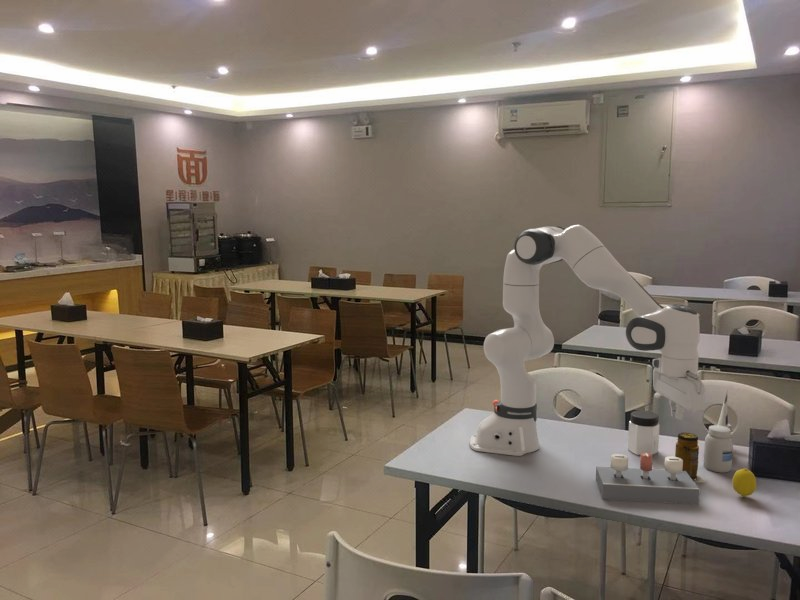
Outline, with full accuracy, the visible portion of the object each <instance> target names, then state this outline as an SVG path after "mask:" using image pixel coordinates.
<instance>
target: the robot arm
mask: <svg viewBox="0 0 800 600" xmlns="http://www.w3.org/2000/svg"><path fill="white" fill-rule="evenodd" d="M513 247H514V248H513V249H512V250H511V251H509V252H508V254H507V255H506V257H505V259H506V260H505V263H504V269H503V270H504V271H503V279H502V280H503V283H502V308H503V309H504V311H505V312H506V313H508V314H509V315H510V316H511V317H512V320H513V327H509V328H508V327H507V328H501V329H497V330H495V331H493V332H491V333H489V334H488V335H486V336H485V339H484V341H483V352H484V355H485V357H486V359H487V360H488V361H489V362H490V363H491V364H493V365H494V366H495V368H496V370H497V372H498V376H499V379H500V380H499V381H500V400H498V399H494V400H493V402H492V406H493V408H494V409H493V411H494V412H492V414H490V415H489V416H487V417H486V418H483V420H480V423H479V424H478V426H477V429H476V432H475V433H474V434H472V435H471V437H470V439H469V447H470V448H471V449H472V450H473V451H475V452H481V453H482V452H484V453H491V454H499V455H506V456H507V455H508V456H515V457H522V456H524V455H525V454H528V453H532V452H535V451H537V450H539V449H540V447H541V446H540V445H541V443H540V441H539V436H538V431H537V430H538V429H537V419H538V404H537V402H536V401H537V382H536V378H535V377H534V376H533V375H532V374H530V373H528V372H527V369H526V365H525V364H526V363H525V362H526V361H531V360H535V359H539V358H541V357H543V356H545V355H548V354H549V353H550V352H552V350H553V349H554V346H555V338H554V335H553V334H554V333H553V332H552V330H551V329H550V328H549V327H547V326H546V324H545V323H544V321H543V319H542V315H541V312H540V311H541V310H540V296H539V295H540V271H541V269H542V267H543V266H544V265H550V264H553V263H558V262H561V261H564V262H565V263H566V264H567V265H568V266H569V267H570V269H571V270H572V272H573V273H574V274H575V276H576V277H578V279H579V280H580V281H581V282H582V283H584V285H586V286H587V287H589V288H591V289H593V290H600V291H605V292H607V293H611V294H614V295H616V296H618V297H619V298H621V300H623V302H625V303H626V305H627V306H628V307H629V308H630V309H631V310H632V311H633V312H634V313H635V315H636V316H635V317H634V318H632V319H631V320H629V321H628V323H627V325H626V327H625V337H626V340H627V342H628V344H629V345H630V346H631V347H632V348H634V349H636V350H637V351H645V352H648V351H660V352H661V357H659V358H658V357H657V358H653V359H652V363H651V364H652V367H653V371H652V386H653V390H654V392H656V393H658V394H660V395H661V396H662V397H665V398H667V399H668V404H669V405H668V406H669V407H670V416H671V417H672V418H674V419H676V420H679V421H680V420H683V419H684V413H685V412H686V411H689V412H691V413H698V412H699V413H700V412H703V411H704V410H705V408H706V392H705V391H706V390H705V384H704V382H702V380H701V377H700V376H699V375H698V374H699V373H698V371H699V351H698V345H699V343H700V317H699V314H698V311H697V310H695V309H694V308H693V307H690V306H688V305H685V304H678V303H669V304H668V305H666V306H665V307H664V306H663V305H661V304H660V303H659V302H657V300H656V299H655V298H654V297H653V296H652V295H651V294H650V293H649V291H647V290H646V289H645V288H644V287H643V286H642V285H641V283H640V282H639V281H637V279H636V278H634V277H633V276H632V275H631V274H630V273H629V272H628V271H627V270H626V269H625V268H624V267H623V266H622V265H621V264H620V263H619V261H618V260H617V259H616V258H615V256H614V255H613V254H612V253H611V252H610V251H609V250H608V249H607V247H606V246H605V244H603V242H602V241H601V240H600V239H599V238H598V237H597V236H596V235H595V234H594V233H592V232H591V231H590V230H589V229H587V228H586V226H583V225H582V224H574V225H573V224H572V225H570V226H568V227H562V226H542V227H536V228H528V229H527V230H524V231H522V232H521V233H519V234H518V236H517V237H516V239H515V241H514V245H513Z"/></svg>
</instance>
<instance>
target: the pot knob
mask: <svg viewBox="0 0 800 600" xmlns="http://www.w3.org/2000/svg"><path fill="white" fill-rule="evenodd" d="M653 456H654V455H652V454H650V453H641V455H640V460H639V469H641V470H643V479H645V480H648V475H649V471H652V469H653V459H654V457H653Z"/></svg>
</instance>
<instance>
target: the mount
mask: <svg viewBox="0 0 800 600" xmlns="http://www.w3.org/2000/svg"><path fill="white" fill-rule="evenodd" d="M595 482H596V485H597V487H598V490H599V493H600V495H601V498H602V500H612V501H613V500H614V501H632V502H648V503H651V502H652V503H662V502H663V503H664V504H665V502H666V503H668V504H682V505H685V504H686V505H699V502H700V488H699V487H698V486H697V484H696V483H695V482H693V480H692V479H691V477H690V476H689V475H688V473H687V472H686V471H682V473H679V474H676V481H670V473H669V472H667V471H665V469H655V468H654V469H653V468H652V471H649V475H648V480H645V479H643V470H641V469H640V468H633V467H632V468H630V467H628V469H627V470H625V471H622V474H621V478H616V470H614V469H612V468H611V466H595Z"/></svg>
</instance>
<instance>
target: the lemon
mask: <svg viewBox="0 0 800 600" xmlns="http://www.w3.org/2000/svg"><path fill="white" fill-rule="evenodd" d="M732 488H733V489H734V491H735V492H736V493H737V494H738V495H740V496H741V498H746V497H748V496H751V495H753V494H754V493H755V491H756V488H757V479H756V476H755V474H754V473H753V472H752V471H751V470H749V469H748V468H745V467H744V468H741V469H738V470H736V472H734V475H733V476H732Z"/></svg>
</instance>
